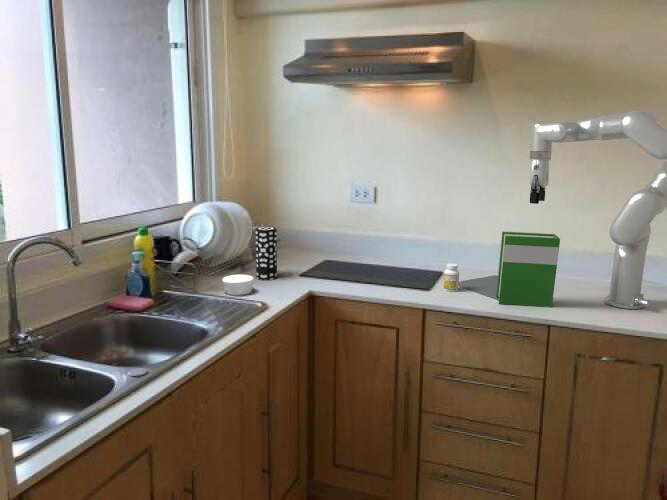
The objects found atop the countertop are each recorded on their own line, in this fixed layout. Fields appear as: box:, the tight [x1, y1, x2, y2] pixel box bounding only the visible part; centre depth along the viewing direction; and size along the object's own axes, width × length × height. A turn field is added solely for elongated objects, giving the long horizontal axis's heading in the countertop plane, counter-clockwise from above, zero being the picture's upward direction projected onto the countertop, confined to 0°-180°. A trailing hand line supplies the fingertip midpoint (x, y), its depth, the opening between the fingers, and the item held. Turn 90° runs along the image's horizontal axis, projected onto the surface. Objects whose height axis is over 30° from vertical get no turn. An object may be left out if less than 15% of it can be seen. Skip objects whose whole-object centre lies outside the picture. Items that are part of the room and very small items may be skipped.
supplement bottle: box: [443, 263, 460, 292], centre depth 212 cm, size 5×5×10 cm
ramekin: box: [221, 273, 255, 296], centre depth 207 cm, size 11×11×5 cm
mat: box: [458, 274, 499, 301], centre depth 217 cm, size 26×24×1 cm
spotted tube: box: [254, 226, 278, 281], centre depth 225 cm, size 8×8×20 cm
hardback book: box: [496, 231, 561, 308], centre depth 196 cm, size 18×7×24 cm, turn 82°
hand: (537, 202), depth 214 cm, fingers open, 9 cm apart
